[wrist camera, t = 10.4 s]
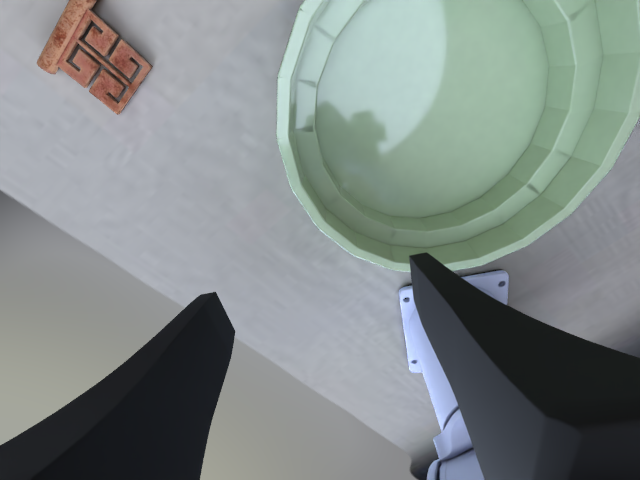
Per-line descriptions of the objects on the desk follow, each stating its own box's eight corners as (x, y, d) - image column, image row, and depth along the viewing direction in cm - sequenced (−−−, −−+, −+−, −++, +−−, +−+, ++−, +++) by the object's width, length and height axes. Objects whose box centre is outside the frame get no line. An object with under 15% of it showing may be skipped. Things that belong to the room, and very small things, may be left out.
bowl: (556, 211, 21) (611, 243, 17) (321, 256, 23) (320, 294, 19) (603, -127, 13) (721, -213, 9) (248, -18, 15) (222, -51, 11)
